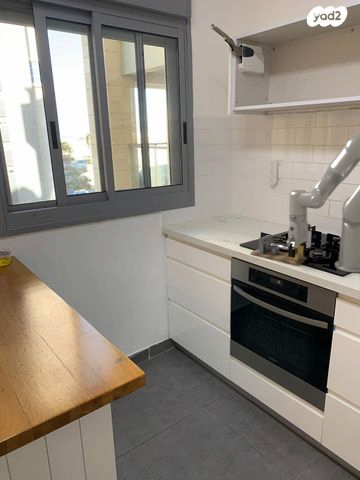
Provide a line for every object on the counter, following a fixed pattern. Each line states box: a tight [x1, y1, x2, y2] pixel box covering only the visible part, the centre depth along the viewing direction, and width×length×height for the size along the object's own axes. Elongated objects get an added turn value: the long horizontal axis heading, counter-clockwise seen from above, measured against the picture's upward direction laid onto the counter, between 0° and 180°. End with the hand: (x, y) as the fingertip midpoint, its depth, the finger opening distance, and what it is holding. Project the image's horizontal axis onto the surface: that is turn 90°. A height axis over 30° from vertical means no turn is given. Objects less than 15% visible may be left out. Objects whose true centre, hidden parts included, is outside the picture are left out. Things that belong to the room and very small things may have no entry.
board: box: [250, 248, 308, 267], centre depth 171 cm, size 25×10×1 cm, turn 43°
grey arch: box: [258, 234, 274, 254], centre depth 175 cm, size 2×8×9 cm, turn 133°
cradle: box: [272, 247, 280, 256], centre depth 172 cm, size 2×3×4 cm, turn 132°
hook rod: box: [270, 242, 304, 261], centre depth 168 cm, size 16×5×6 cm, turn 43°
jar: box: [291, 223, 312, 249], centre depth 182 cm, size 9×8×12 cm
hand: (297, 254), depth 163 cm, fingers open, 9 cm apart
